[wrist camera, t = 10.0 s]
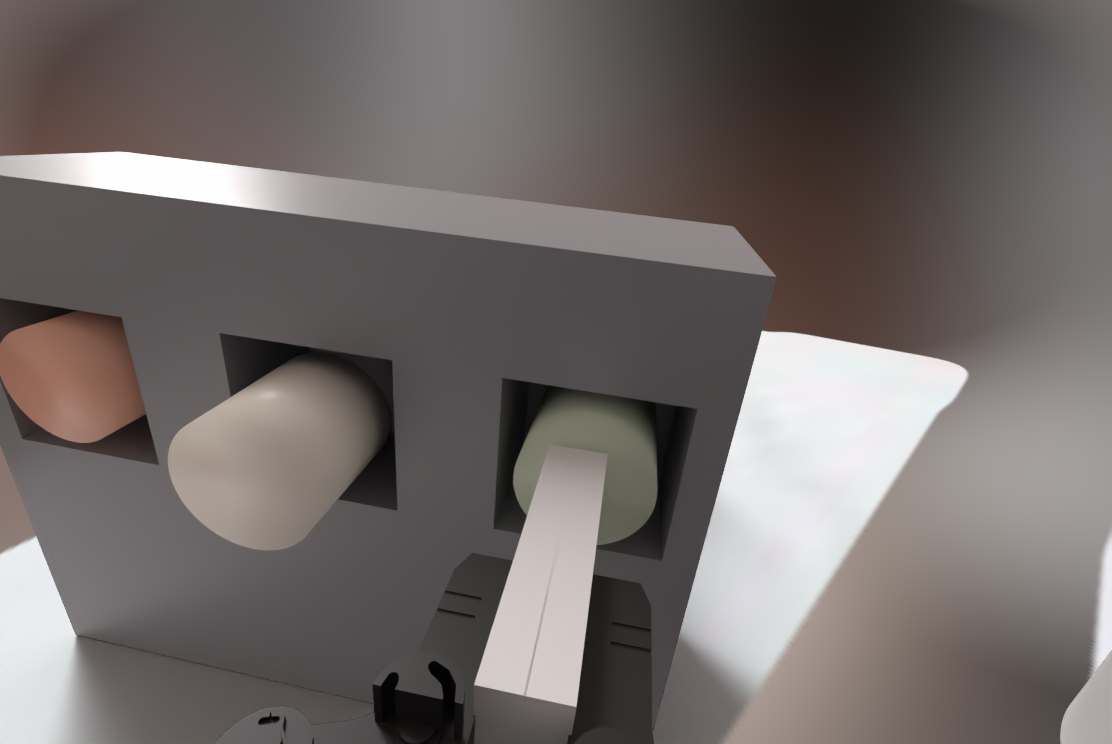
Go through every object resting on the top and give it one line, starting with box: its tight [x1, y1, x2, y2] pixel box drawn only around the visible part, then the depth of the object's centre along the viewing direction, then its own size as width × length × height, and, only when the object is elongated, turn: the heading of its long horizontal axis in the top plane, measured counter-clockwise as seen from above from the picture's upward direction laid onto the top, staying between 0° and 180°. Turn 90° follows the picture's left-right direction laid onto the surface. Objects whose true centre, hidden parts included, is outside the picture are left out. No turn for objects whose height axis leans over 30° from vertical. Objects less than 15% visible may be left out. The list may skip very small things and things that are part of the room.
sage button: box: [513, 385, 657, 545], centre depth 16 cm, size 4×4×4 cm
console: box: [0, 152, 776, 732], centre depth 20 cm, size 23×7×18 cm, turn 81°
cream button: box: [168, 352, 390, 551], centre depth 15 cm, size 4×4×4 cm
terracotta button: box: [0, 310, 146, 443], centre depth 18 cm, size 4×4×4 cm
